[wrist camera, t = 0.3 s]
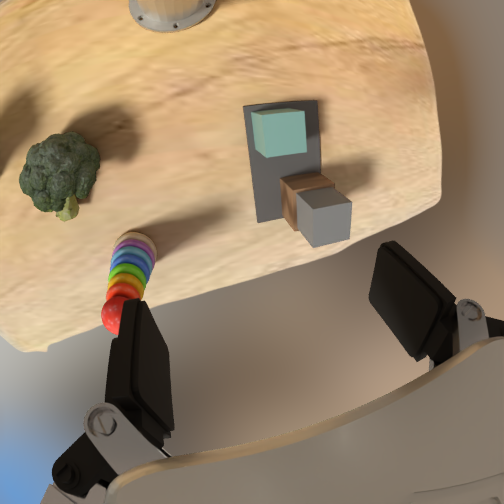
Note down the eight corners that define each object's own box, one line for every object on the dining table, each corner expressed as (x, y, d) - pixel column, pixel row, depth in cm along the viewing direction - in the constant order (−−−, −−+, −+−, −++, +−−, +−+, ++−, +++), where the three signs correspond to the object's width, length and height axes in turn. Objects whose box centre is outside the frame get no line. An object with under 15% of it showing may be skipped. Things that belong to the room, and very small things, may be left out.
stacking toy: (149, 225, 44) (137, 301, 28) (162, 263, 48) (160, 345, 33) (107, 236, 43) (80, 313, 27) (123, 272, 47) (108, 353, 32)
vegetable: (25, 212, 34) (2, 142, 22) (81, 174, 42) (76, 104, 30) (57, 258, 33) (29, 186, 21) (118, 211, 41) (117, 135, 29)
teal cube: (250, 112, 37) (261, 115, 33) (288, 108, 38) (304, 111, 33) (255, 149, 41) (266, 157, 36) (291, 144, 42) (306, 152, 37)
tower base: (279, 178, 44) (292, 190, 39) (318, 172, 45) (334, 183, 40) (282, 215, 48) (294, 231, 43) (318, 208, 49) (333, 223, 44)
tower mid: (296, 192, 40) (313, 209, 35) (331, 186, 41) (352, 201, 36) (297, 228, 43) (312, 247, 38) (331, 220, 44) (349, 239, 39)
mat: (243, 106, 37) (243, 106, 37) (316, 100, 39) (317, 100, 38) (257, 222, 48) (257, 223, 48) (319, 209, 50) (320, 210, 50)
